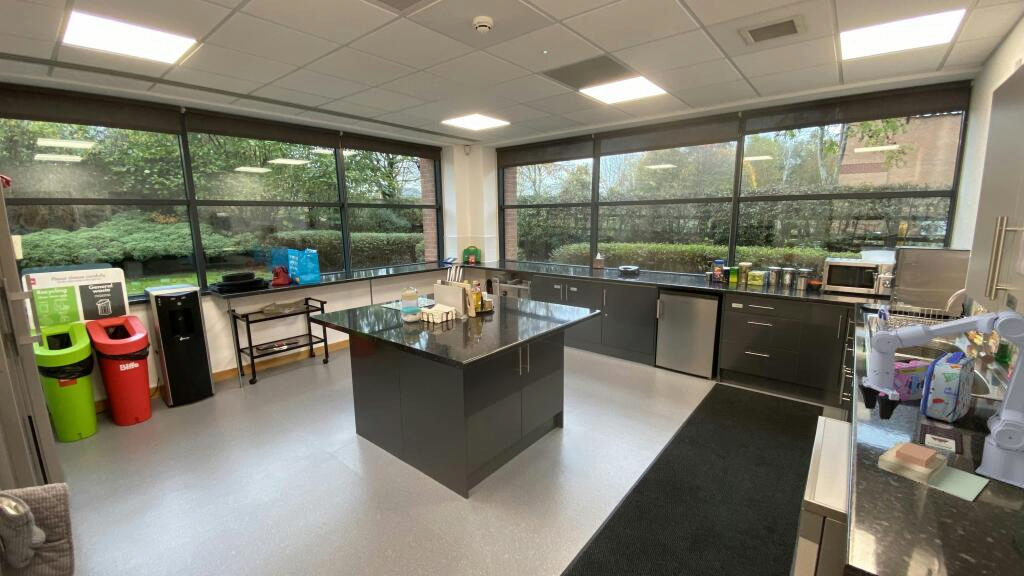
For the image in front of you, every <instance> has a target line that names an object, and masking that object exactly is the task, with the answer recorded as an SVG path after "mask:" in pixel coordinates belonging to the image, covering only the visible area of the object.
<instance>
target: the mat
mask: <svg viewBox="0 0 1024 576" xmlns="http://www.w3.org/2000/svg"><path fill="white" fill-rule="evenodd" d="M989 482H990V479H987V478H984V477H982V476H979V475H976V474H973V473H970V472H967V471H965V470H961V469H957V468H955V467H951V466H948V465H947V466H946V467H945V468H944V469H943V470H941V471H940V472H939V473H938V474H937V475H936V476H935V477H934V478H933V479H932V480H931V481H930V482H929V483H928V484H927V485H928V487H930V488H933V489H935V488H936V490H938V491H941V492H943V491H944V493H947V494H949V495H952V496H954V497H957V498H960V499H962V500H965V501H968V502H970V501H971V503H972V502H973V501H974V500H975V499H976V497H977V496H978V495H979V494H980V493H981V492H982V491H983V489H984V488H985V487H986V486H987V485H988V483H989ZM927 485H926V486H927Z"/></svg>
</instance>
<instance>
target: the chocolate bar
mask: <svg viewBox="0 0 1024 576" xmlns="http://www.w3.org/2000/svg"><path fill="white" fill-rule="evenodd" d="M919 432H920V433H919V440H918V444H919V443H920V444H924V445H928V446H931V447H930V448H932V447H934V448H933V449H936V448H938V449H937V450H940V449H941V450H940V451H944V450H945V452H949V453H953V454H956V455H960V456H962V454H963V452H962V436H961V431H957V430H953V429H948V428H944V427H939V426H934V425H931V424H926V423H920V431H919ZM920 444H919V445H920ZM924 445H923V446H924ZM928 446H927V447H928Z"/></svg>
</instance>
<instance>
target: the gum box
mask: <svg viewBox="0 0 1024 576" xmlns="http://www.w3.org/2000/svg"><path fill="white" fill-rule="evenodd" d="M929 365H930V363H929V362H925V361H921V360H920V359H918V358H907V359H900V360H895V370H894V379H893V387H894V389H895V390H896V392H897V393H899V398H900V399H901V400H902V402H905V401H915V400H921V399H922V392H923V387H924V383H925V377H926V376H925V374H926V372H927V371H928V368H929ZM879 395H880V396H884V394H883V393H881V392H880V393H879Z"/></svg>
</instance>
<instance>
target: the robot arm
mask: <svg viewBox="0 0 1024 576" xmlns="http://www.w3.org/2000/svg"><path fill="white" fill-rule="evenodd" d="M993 331H994V332H996V335H998V336H999V337H1002V338H1003V339H1005V340H1007V341H1009V342H1011V343H1012V344H1013V345H1014V346H1015V347H1016V348H1017V349H1019V352H1018V355H1017V357H1016V360H1015V364H1014V366H1013V369H1012V372H1011V374H1010V378H1009V381H1008V382H1007V383H1008V384H1007V387H1006V390H1005V392H1004V395H1003V399H1002V402H1001V404H1000V406H998V408H997V409H996V412H995V414H993V415H992V416H990V417H989V418H988V420H987V424H986V425H987V428H988V429H989V430H990V433H989V434H988V435H987V436H985V438H984V444H983V451H982V457H981V458H982V459H981V464H979V465H980V466H978V467H977V469H976V470H975V473H976V474H979V475H982V476H985V477H988V478H991V479H994V480H997V481H1000V482H1003V483H1006V484H1009V485H1012V486H1016V487H1018V488H1021V489H1024V315H1023V314H1022V313H1020V312H1017V311H1016V310H1010V309H1006V310H1005V309H1004V310H1000V311H996V312H994V311H993V312H991V311H990V312H984V313H980V314H974V315H969V316H967V317H963V318H958V319H955V320H954V319H953V320H950V321H945V322H942V323H937V324H932V325H927V324H923V323H917V324H916V322H910V323H908V326H904V327H899V328H893V327H890V328H888V331H887V330H880V331H877V332H875V333H874V334H873V336H872V337H871V342H870V343H871V347H872V348H871V349H870V350H871V351H870V352H871V354H870V357H869V364H868V365H869V366H868V367H869V368H868V376H862V384H858V389H859V390H860V392H861V394H862V398H863V403H864V407H865V409H867V410H868V409H869V410H875V408H876V405H878V407H879V408H878V412H879V413H878V414H879V419H881V420H889V421H890V420H891V418H892V415H893V414H894V412H895V410H896V408H897V407H898V406H899V405H900V404H901V403H902V402H903V401H902V400H901V399H900V398H899V393H897V392H896V390H895V389H894V387H893V379H894V370H895V361H897V360H896V351H897V349H906V348H911V347H916V346H921V345H926V344H930V343H932V342H933V340H934V339H935V338H939V337H944V336H950V335H957V334H961V333H962V334H963V333H968V332H979V333H984V334H988V335H992V334H993ZM880 392H881V393H883V394H884V396H880V395H879V393H880Z"/></svg>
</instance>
